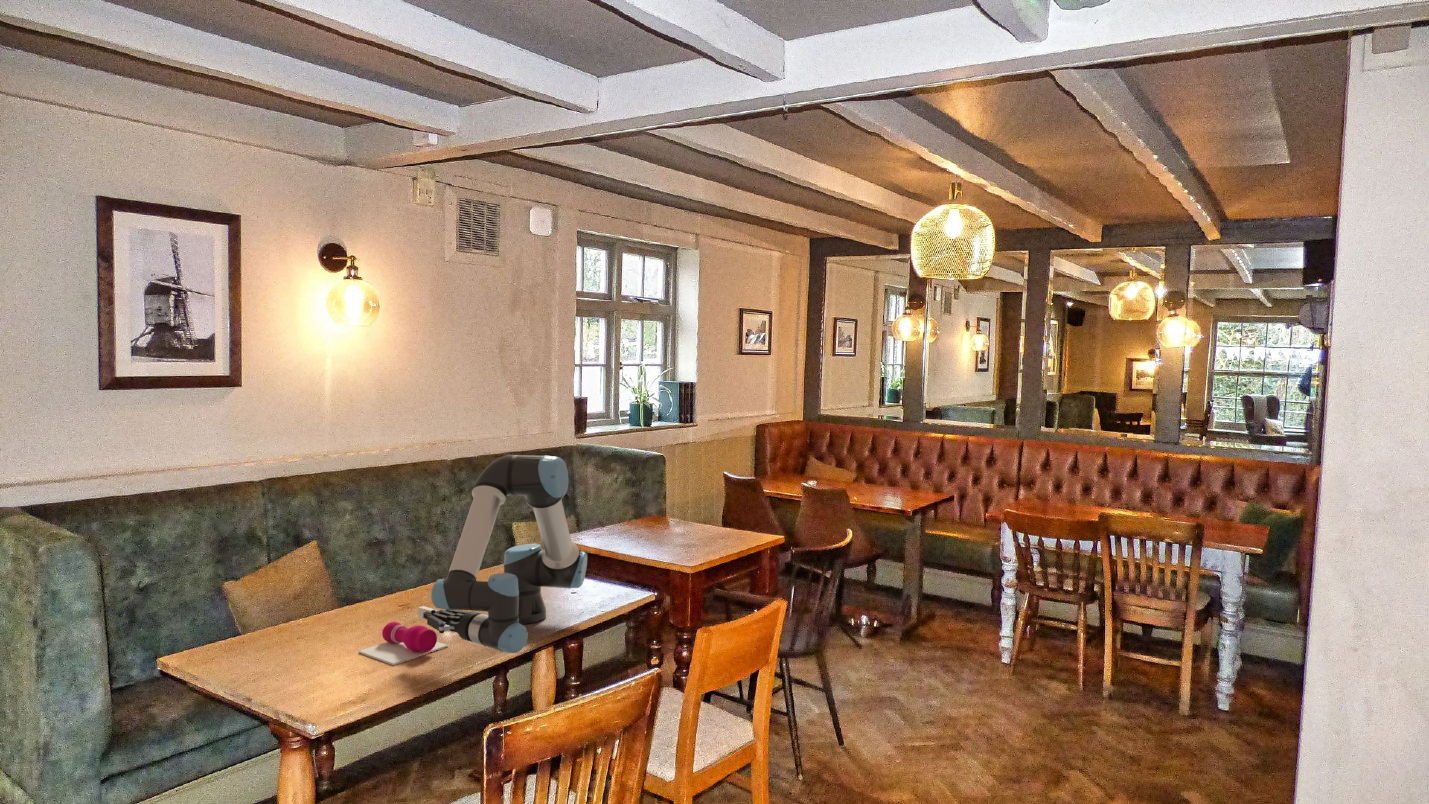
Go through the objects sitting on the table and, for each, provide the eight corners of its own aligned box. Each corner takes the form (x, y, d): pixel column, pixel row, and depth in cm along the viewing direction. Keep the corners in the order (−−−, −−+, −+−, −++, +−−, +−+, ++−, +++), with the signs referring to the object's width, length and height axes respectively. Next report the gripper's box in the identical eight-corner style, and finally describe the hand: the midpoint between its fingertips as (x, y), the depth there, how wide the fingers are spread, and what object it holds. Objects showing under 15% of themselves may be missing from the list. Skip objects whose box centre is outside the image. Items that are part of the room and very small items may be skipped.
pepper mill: (442, 631, 244) (398, 621, 255) (423, 624, 238) (379, 614, 249) (432, 656, 241) (389, 645, 252) (413, 650, 236) (369, 639, 247)
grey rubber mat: (447, 647, 247) (447, 645, 247) (393, 665, 233) (393, 663, 232) (412, 635, 256) (412, 634, 256) (358, 652, 241) (358, 650, 241)
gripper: (458, 648, 221) (400, 630, 234) (496, 635, 231) (439, 618, 244) (458, 620, 220) (400, 603, 233) (496, 608, 231) (439, 592, 244)
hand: (420, 611), depth 239 cm, fingers closed
